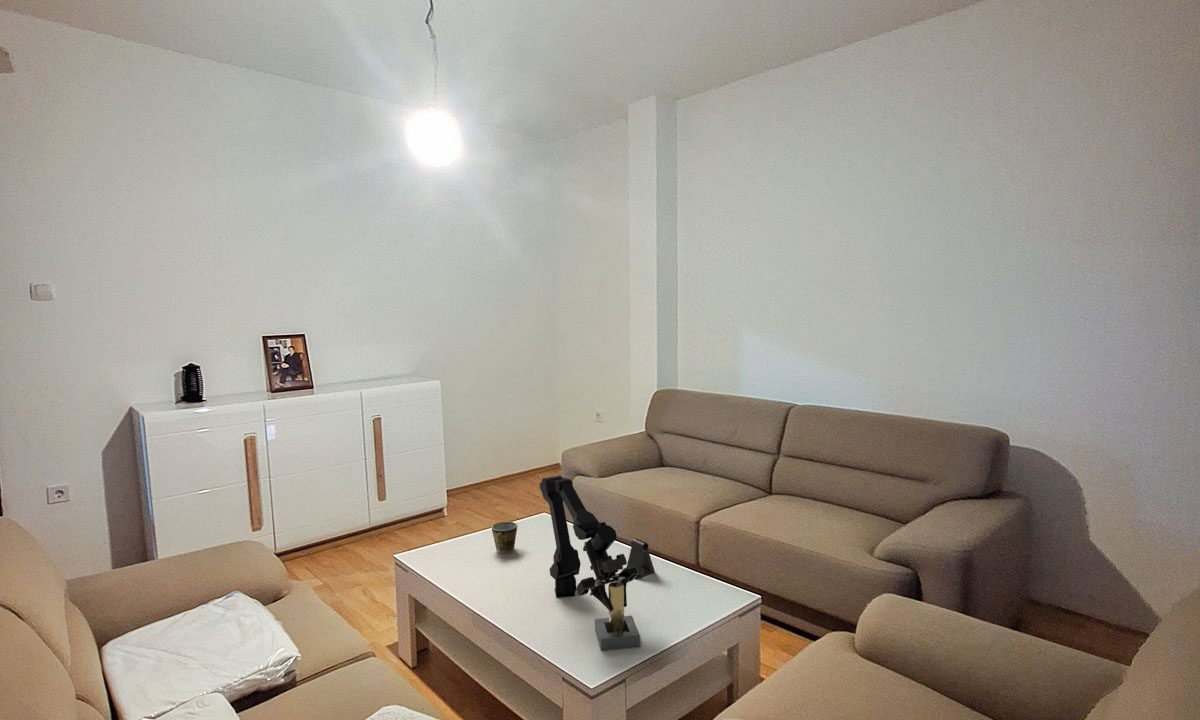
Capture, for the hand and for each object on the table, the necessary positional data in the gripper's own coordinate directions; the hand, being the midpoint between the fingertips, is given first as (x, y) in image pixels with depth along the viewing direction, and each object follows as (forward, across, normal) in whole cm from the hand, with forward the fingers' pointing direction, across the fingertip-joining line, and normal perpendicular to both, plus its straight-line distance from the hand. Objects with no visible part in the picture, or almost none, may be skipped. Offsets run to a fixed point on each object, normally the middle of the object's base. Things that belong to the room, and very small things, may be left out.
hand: (618, 608), depth 178 cm
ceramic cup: (-48, -5, +62) cm, 79 cm away
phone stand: (-17, +30, +31) cm, 46 cm away
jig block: (+6, 0, +8) cm, 10 cm away
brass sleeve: (+4, 0, +6) cm, 7 cm away
